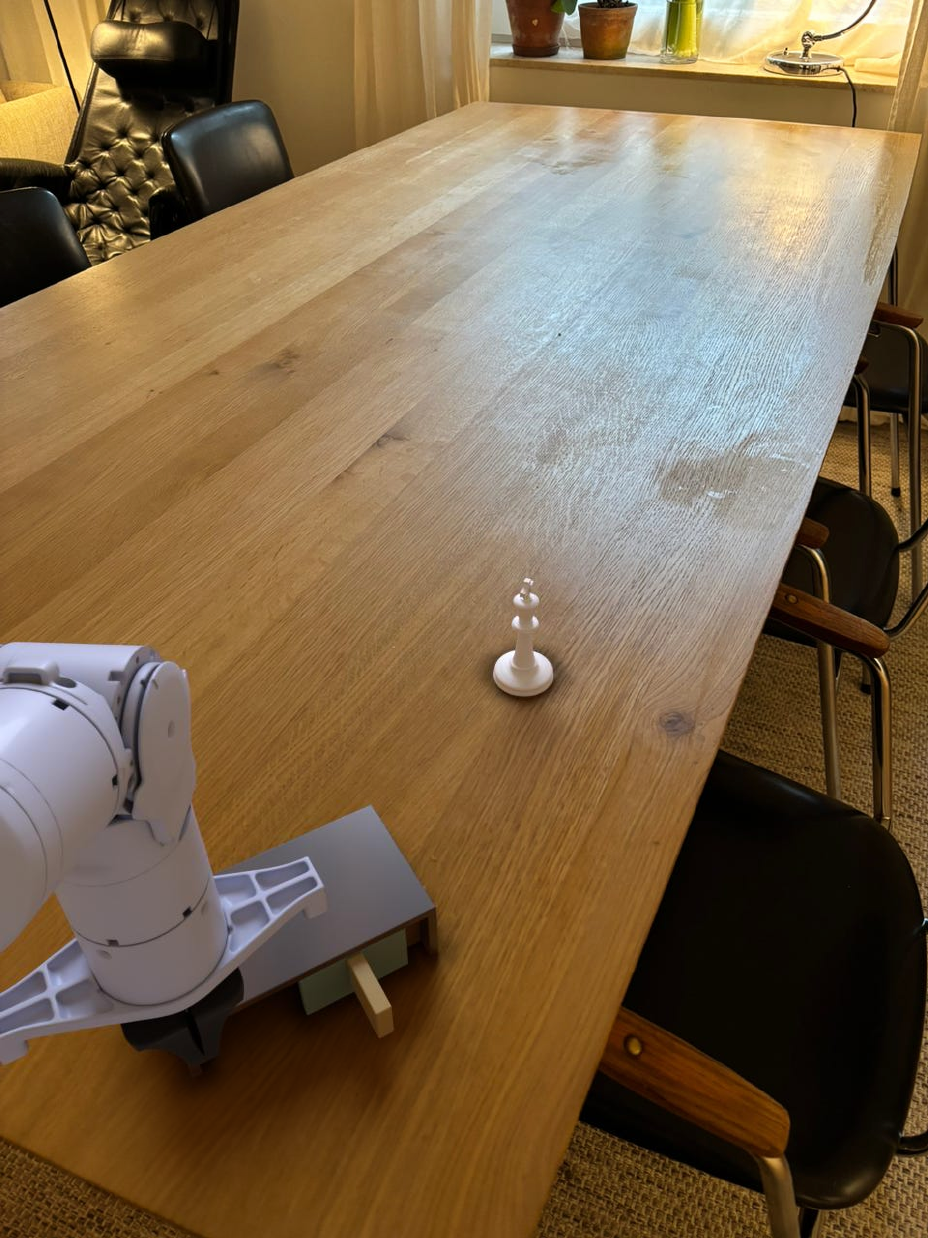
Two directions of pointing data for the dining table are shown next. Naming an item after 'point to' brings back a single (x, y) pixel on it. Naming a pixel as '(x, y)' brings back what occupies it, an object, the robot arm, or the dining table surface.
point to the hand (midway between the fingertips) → (199, 1044)
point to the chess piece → (524, 652)
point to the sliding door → (359, 981)
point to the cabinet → (338, 904)
